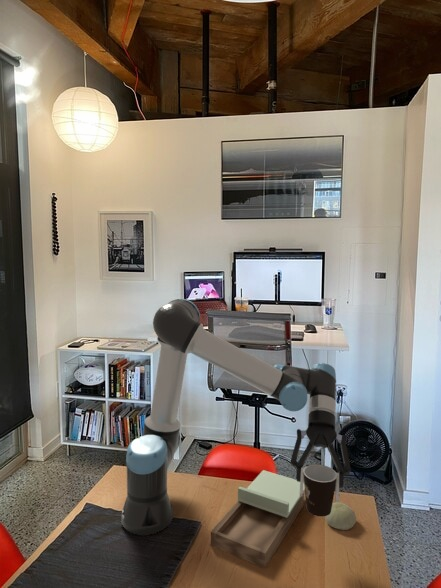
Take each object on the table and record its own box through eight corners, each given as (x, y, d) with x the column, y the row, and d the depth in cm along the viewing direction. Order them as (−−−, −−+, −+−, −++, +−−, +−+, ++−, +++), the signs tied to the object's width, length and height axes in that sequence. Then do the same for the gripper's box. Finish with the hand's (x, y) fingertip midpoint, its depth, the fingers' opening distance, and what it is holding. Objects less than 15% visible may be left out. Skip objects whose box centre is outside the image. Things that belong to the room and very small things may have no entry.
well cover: (237, 500, 126) (238, 488, 125) (263, 472, 142) (263, 461, 142) (287, 517, 118) (287, 504, 118) (308, 485, 134) (308, 473, 134)
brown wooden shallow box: (210, 545, 113) (210, 531, 112) (257, 490, 139) (257, 479, 138) (264, 568, 105) (265, 553, 105) (303, 505, 131) (303, 493, 130)
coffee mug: (336, 521, 104) (338, 484, 103) (301, 516, 106) (303, 479, 105) (333, 494, 116) (335, 460, 115) (302, 490, 118) (303, 457, 116)
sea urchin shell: (322, 523, 120) (324, 494, 124) (323, 529, 125) (326, 501, 130) (355, 531, 116) (356, 501, 121) (355, 537, 122) (356, 508, 127)
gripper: (358, 423, 121) (360, 507, 108) (285, 415, 126) (278, 495, 113) (361, 413, 116) (363, 500, 102) (284, 405, 121) (277, 487, 107)
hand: (318, 497), depth 107 cm, fingers closed on coffee mug, 8 cm apart
